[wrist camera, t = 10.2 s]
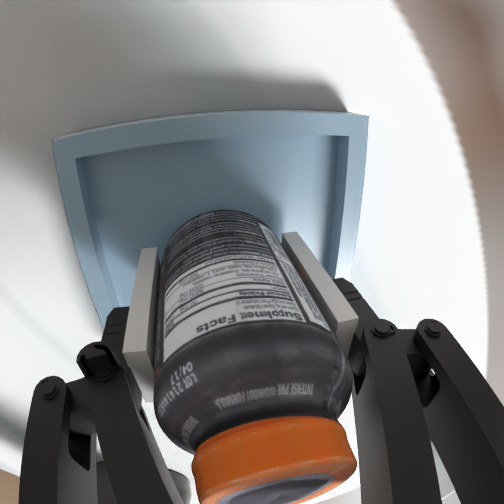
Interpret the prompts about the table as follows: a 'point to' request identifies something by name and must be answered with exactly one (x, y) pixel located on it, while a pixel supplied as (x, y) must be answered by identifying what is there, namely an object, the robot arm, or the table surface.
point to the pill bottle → (248, 366)
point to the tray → (209, 185)
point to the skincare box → (442, 476)
